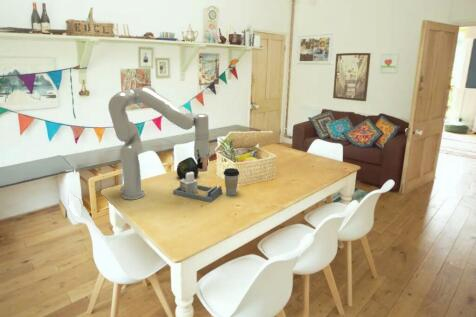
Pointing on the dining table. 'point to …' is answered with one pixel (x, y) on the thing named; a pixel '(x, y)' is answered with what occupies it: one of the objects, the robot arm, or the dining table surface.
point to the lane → (212, 197)
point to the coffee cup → (231, 181)
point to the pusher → (211, 191)
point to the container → (188, 183)
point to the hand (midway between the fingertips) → (202, 166)
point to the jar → (204, 160)
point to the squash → (187, 167)
